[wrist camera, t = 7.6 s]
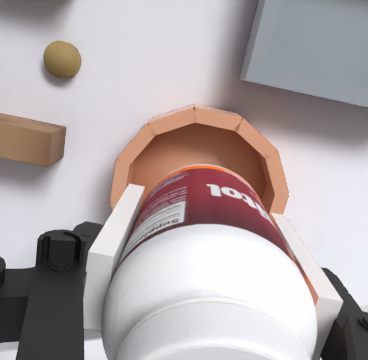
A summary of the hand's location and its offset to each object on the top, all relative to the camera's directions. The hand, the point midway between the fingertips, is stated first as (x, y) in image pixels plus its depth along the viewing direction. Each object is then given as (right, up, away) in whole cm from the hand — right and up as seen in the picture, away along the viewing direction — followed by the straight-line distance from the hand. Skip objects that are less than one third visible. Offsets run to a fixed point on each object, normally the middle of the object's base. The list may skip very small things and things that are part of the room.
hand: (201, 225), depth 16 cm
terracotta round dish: (0, +2, +6) cm, 6 cm away
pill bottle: (0, 0, +1) cm, 1 cm away
